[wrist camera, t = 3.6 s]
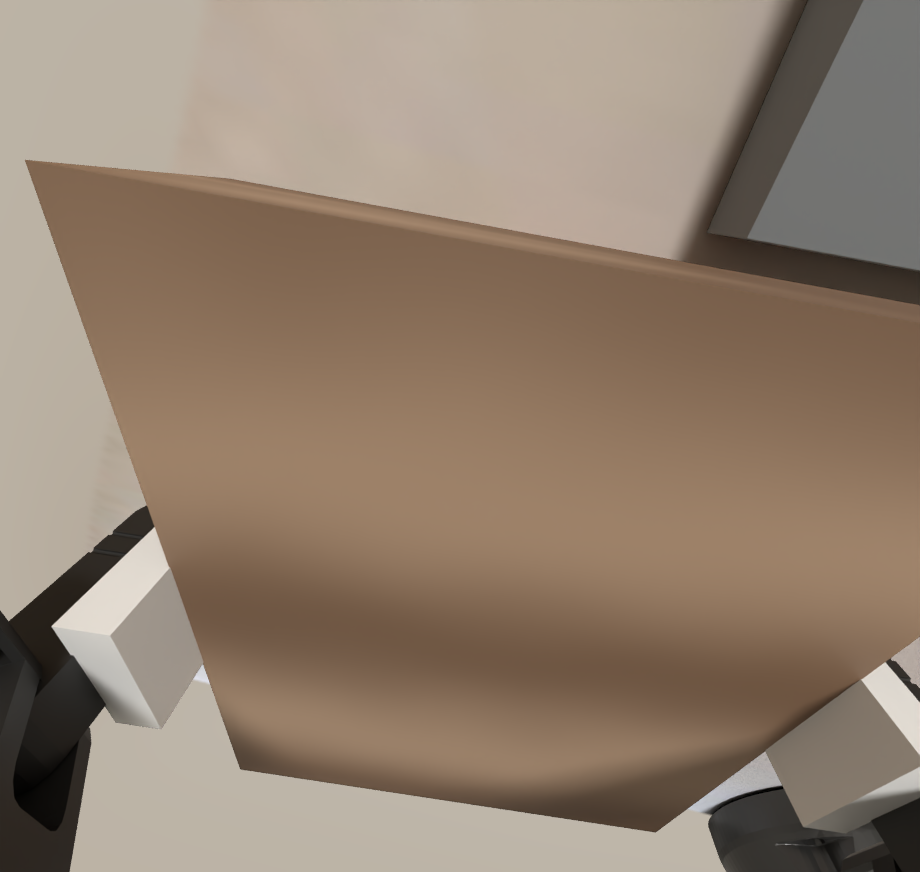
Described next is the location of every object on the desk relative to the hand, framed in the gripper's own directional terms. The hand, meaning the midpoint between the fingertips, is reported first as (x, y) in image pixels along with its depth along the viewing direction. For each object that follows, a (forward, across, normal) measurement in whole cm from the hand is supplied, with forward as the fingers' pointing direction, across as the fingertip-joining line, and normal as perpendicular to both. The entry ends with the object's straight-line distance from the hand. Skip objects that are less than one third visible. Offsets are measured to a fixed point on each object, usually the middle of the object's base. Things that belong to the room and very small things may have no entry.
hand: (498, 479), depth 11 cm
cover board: (-2, 0, 0) cm, 2 cm away
